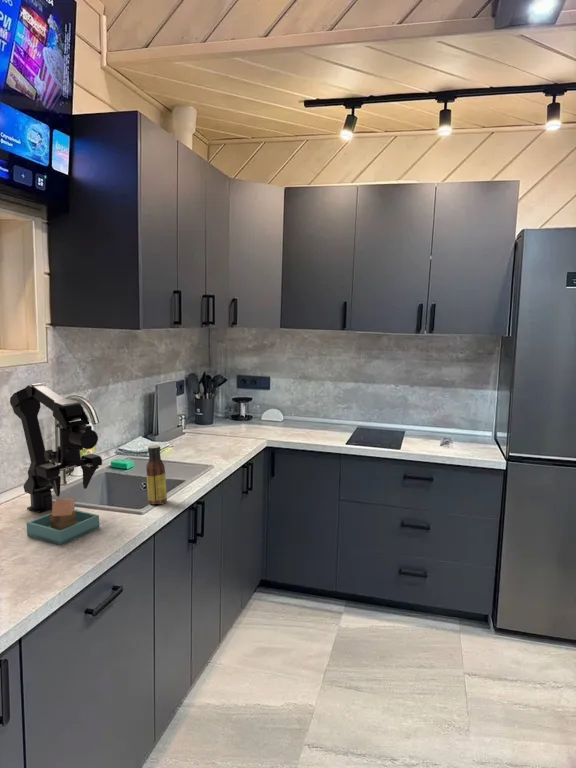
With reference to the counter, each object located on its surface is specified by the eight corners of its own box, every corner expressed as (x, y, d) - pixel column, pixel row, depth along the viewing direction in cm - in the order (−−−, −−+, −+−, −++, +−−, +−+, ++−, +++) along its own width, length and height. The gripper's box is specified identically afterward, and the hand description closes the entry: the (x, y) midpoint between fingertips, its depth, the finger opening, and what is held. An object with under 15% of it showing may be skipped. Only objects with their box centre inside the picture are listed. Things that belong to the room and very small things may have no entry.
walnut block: (50, 529, 158) (49, 513, 157) (64, 524, 162) (63, 508, 162) (62, 533, 156) (61, 516, 155) (76, 527, 160) (75, 511, 159)
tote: (27, 535, 156) (26, 522, 156) (66, 519, 168) (65, 507, 168) (61, 545, 150) (60, 532, 149) (99, 528, 162) (98, 515, 162)
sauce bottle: (168, 499, 187) (167, 443, 184) (164, 506, 181) (163, 448, 178) (149, 499, 187) (148, 443, 184) (145, 506, 181) (143, 448, 178)
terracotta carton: (57, 508, 161) (56, 499, 161) (74, 507, 162) (74, 498, 162) (52, 516, 155) (52, 506, 155) (71, 515, 156) (70, 505, 156)
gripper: (82, 433, 176) (83, 479, 178) (26, 444, 161) (28, 494, 163) (102, 439, 169) (103, 486, 172) (46, 451, 154) (48, 503, 157)
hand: (71, 492), depth 166 cm, fingers open, 9 cm apart
